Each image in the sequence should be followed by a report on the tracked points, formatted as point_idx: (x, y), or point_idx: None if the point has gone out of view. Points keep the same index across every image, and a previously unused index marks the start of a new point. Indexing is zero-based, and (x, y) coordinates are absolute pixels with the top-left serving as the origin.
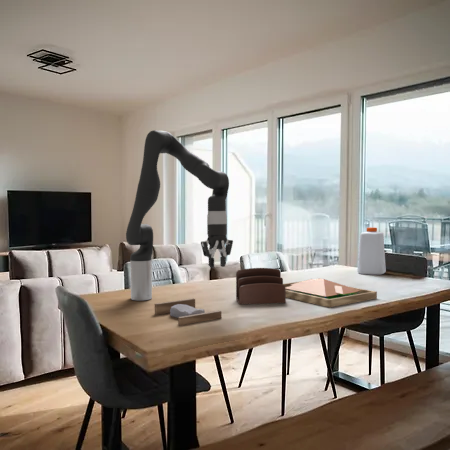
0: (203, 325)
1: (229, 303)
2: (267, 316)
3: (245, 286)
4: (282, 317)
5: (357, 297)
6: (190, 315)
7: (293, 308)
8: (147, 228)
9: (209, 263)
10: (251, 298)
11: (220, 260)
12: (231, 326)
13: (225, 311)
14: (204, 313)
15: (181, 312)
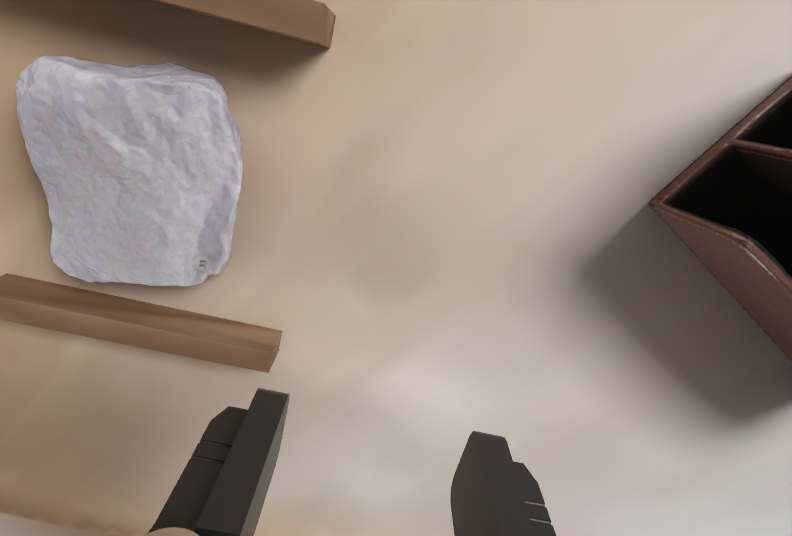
0: (112, 375)
1: (643, 120)
2: None
3: (773, 279)
4: None
5: None
6: (57, 314)
7: (695, 478)
8: None
9: (204, 456)
10: (725, 272)
11: (492, 508)
12: None
13: (416, 265)
14: (155, 339)
15: (52, 211)
